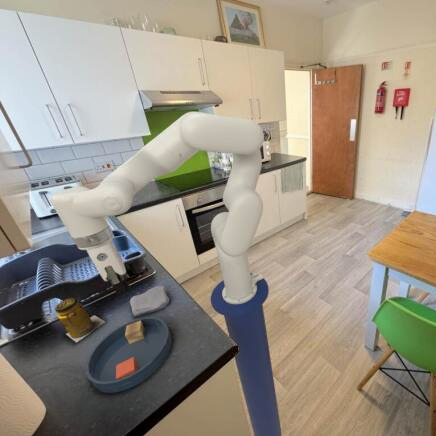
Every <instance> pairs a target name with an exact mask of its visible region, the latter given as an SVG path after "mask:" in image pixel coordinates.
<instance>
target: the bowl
mask: <svg viewBox="0 0 436 436" xmlns="http://www.w3.org/2000/svg"><path fill="white" fill-rule="evenodd" d="M138 321H142V323H143V326H144V328H145V336H144V339H142V340H139V341H136V342H134V343H131V344H129V342H128V340H127V338H126V336H125V332H126V326H127V325H129V324H132V323H135V322H138ZM170 331H171V330H170V329H169V326H168V324H167V322H165V321H164V320H163V319H162V318H159V317H154V316H153V317H152V316H146V317H140V318H137V319H136V318H135V319H133V320H130V321H128V322H126V323H124V324H121V325H120V326H118V327H116V328H115V329H114V330H112V331H111V332H109V333H108V334H106V335H105V336H104V338H102V339H101V340H100V341H99V343H97V344H96V346H95V347H94V348H93V349H92V351H91V352H90V354H89V356H88V358H87V361H86V364H85V375H86V376H87V379H88V380H89V381H90V382H91V384H92V385H93V387H94V388H96V389H97V390H98V391H99V392H102V393H108V394H110V393H111V394H114V393H119V392H120V393H121V392H124V391H127V390H129V389H132V388H133V387H136V386H137V385H139V384H141V383H142V382H144V381H145V380H147V379H148V378H150V377H151V376H152V375H153V374H154V373H155V372H156V371H157V370H158V369H160V367H161V366H162V365H163V363H164V362H165V360H166V359H167V357H168V356H169V354H170V351H171V348H172V346H173V345H172V343H173V337H172V334H171V332H170ZM132 357H134V359H135V360H136V362H137V364H138V366H139V370H137V371H136V372H134V373H132V374H131V375H129V376H126V377H124V378H121V379H119V380H117V379H116V365H118V364H120V363H122V362H124V361H126V360H128V359H130V358H132Z"/></svg>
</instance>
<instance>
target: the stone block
mask: <svg viewBox="0 0 436 436" xmlns="http://www.w3.org/2000/svg"><path fill="white" fill-rule="evenodd" d="M129 304H130V307H131V314H132V315H133V316H134V317H139V316H142V315H146V314H150V313H154V312H156V311H159V310H163V309H164V308H165V307H166V306H168V305H169V304H170V298H169V296H168V294H167V291H166V288H165V286H164V285H156V286H154V287H152V288H150V289H148V290H146V291H145V292H143V293H141V294H140V293H139V294H138V295H137V294H136V295H134V296H132V297H131V298H130V300H129Z"/></svg>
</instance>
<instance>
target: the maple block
mask: <svg viewBox="0 0 436 436" xmlns="http://www.w3.org/2000/svg"><path fill="white" fill-rule="evenodd" d="M125 336H126V338H127V340H128V342H129V344H131V343H134V342H136V341H139V340H142V339H144V336H145V328H144V326H143V323H142V321H138V322H135V323H132V324H129V325H127V326H126V332H125Z"/></svg>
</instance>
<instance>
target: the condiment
mask: <svg viewBox="0 0 436 436" xmlns="http://www.w3.org/2000/svg"><path fill="white" fill-rule="evenodd" d="M54 311H55V312H56V314H57V318H58V320H59V321H60V322H61V324H62V326H63V327H64V328H65V330H66V331H67V333H65V335H66V336H67V337H69V338H70V339H71V340H72V341H73V342H75V343H76V344H77V343H78V342H79V341H81V340H82V339H84V338H86V337H87V336H89V335H90V334H91V333H92V332H94V331H95V330H96V329H98V328H100V327H101V326H102V325H103V324H105V323H106V321H105V320H103V319H101V318H100V317H98V316H96V315H95V314H94V315H91V317H90V315H89V314H88V312H87V311H86V309H85V307H84V305H83V304H82V303H80V302H79V301H78V299H77V298H75V297H71V298H70V297H69V298H67V299H64V300H62V301H61V302H59V303H58V304H56V306H55V308H54Z"/></svg>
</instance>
